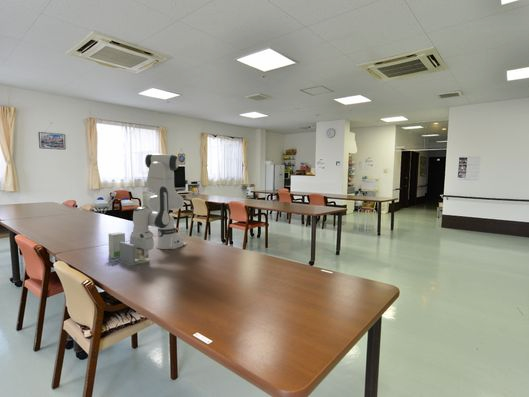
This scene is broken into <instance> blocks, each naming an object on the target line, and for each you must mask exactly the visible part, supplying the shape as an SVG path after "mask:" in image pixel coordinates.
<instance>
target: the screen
mask: <svg viewBox="0 0 529 397" xmlns="http://www.w3.org/2000/svg"><path fill="white" fill-rule="evenodd" d="M119 244H120V257H119V259H116V262H117V263H118V262H119V263H121V264H124V265H127V266H129V267H132V266H136V265H138V264H139V263H138V262H135V260H136V259H135V245H132V244H130V242H129V243H128V242H126V241H125V242H119Z"/></svg>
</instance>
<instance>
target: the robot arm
mask: <svg viewBox="0 0 529 397" xmlns="http://www.w3.org/2000/svg"><path fill="white" fill-rule="evenodd" d="M144 162H145V166H146V167H147V169H148V172H147V177H146V187H147V189H148V190H149V191H150V192H152V193H153V194H155V195H152V196H149V197H148V198H147V201H146V205H147V207H148V208H147V207H146V206H140V207H136V208H134V210H133V214H132V223H133V229H132V230H133V231H132V232H131V233H130V236H129V244H132V245H135V249H136V248H141V249H144V253H143V256H147V252H148V253H149V251H152V250H154V247H155V246H154V244H155V243H154V233H153V232H152V231H151V230H149V226H151V227H156V228H157V235H158V236H157V243H156V249H160V250H168V249H171V250H172V249H173V250H175V249H178V248H181V247H184V246H186V245H187V242H185V241H184V237H183V236H182V235H181V234H180V233H178V232H177V231H179V228H178V227H175V218H174V217H173V216H172V215H171V214H170V212H169V211H171V210H172V211H174V210H180V209H182V208H183V206H184V204H185V200H184V197H183V196H182V195H180V194H179V193H178V192H177V191H176V188H175V172H174V171H175V170H177V169H178V168H179V165H180V161H179V157H178V156H177V155H174V154H168V153H154V152H153V153H148V154H147V155H146V156H145V160H144ZM183 245H184V246H183Z"/></svg>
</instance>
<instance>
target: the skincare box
mask: <svg viewBox="0 0 529 397" xmlns="http://www.w3.org/2000/svg"><path fill="white" fill-rule="evenodd" d="M119 242H125V243H126V233H125V232H121V231H119V232H111V233H108V257H109V258H111V259H118V258H120V244H119Z"/></svg>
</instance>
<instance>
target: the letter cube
mask: <svg viewBox="0 0 529 397" xmlns="http://www.w3.org/2000/svg"><path fill="white" fill-rule="evenodd" d="M143 253H144V249H141V248H136V249H135V260H137V259H138V260H142V259H149V254H150V252H149V251H148V252H147V256H143Z"/></svg>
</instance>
